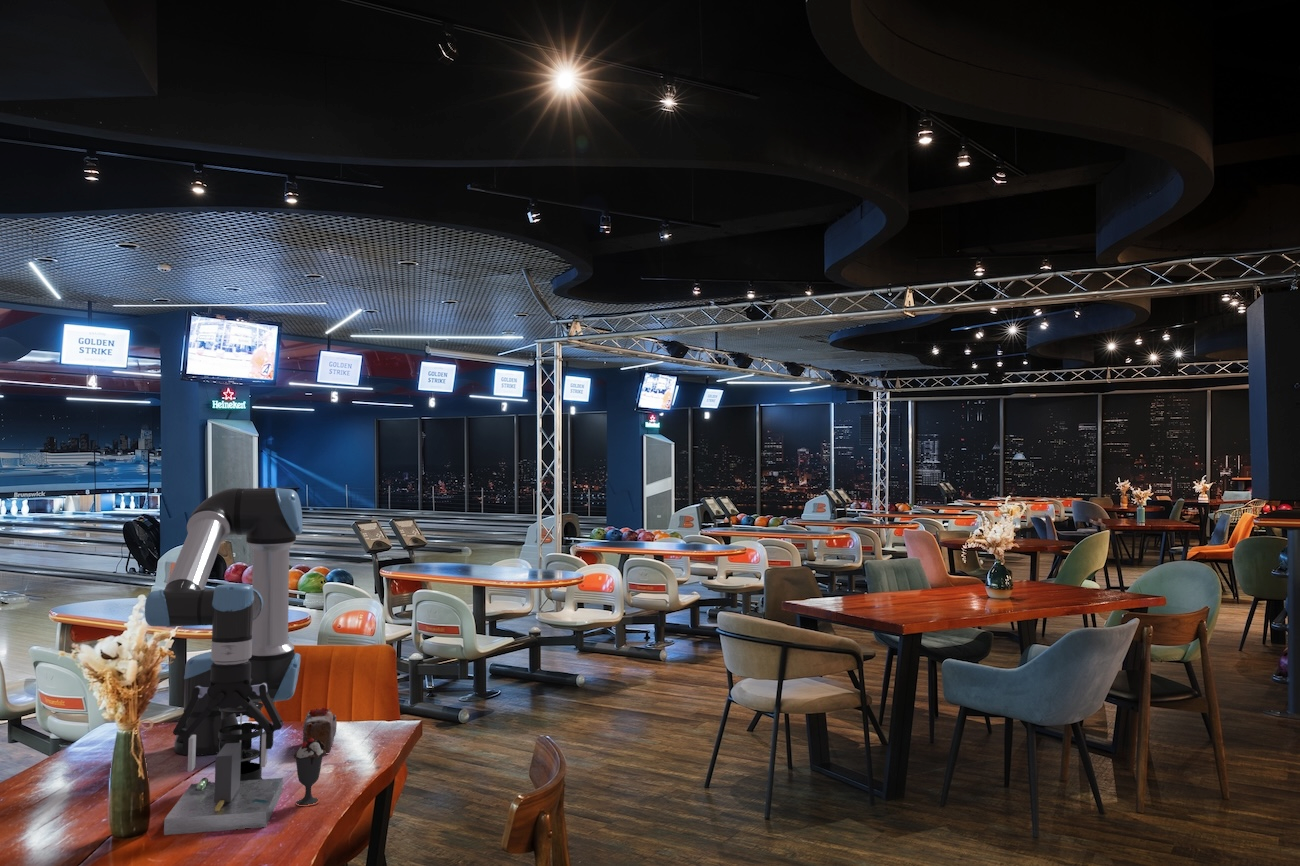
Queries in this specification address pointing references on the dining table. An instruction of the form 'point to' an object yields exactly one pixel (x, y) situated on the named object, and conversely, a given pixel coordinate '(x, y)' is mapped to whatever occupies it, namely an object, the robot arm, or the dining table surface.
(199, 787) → the base
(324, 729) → the food item
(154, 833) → the dining table surface
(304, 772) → the sundae
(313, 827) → the dining table surface
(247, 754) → the french press
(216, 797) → the dark grey rectangular block
